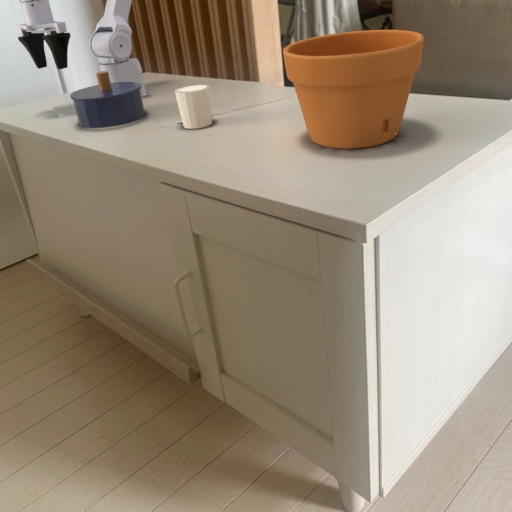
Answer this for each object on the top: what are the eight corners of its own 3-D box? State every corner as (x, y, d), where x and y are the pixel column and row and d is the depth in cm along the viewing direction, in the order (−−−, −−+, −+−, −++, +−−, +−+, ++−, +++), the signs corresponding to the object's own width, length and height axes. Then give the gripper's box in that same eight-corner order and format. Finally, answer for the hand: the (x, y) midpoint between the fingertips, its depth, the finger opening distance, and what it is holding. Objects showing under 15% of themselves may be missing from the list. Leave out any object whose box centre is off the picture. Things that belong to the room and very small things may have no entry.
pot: (133, 108, 123) (128, 81, 120) (153, 119, 112) (148, 90, 109) (74, 121, 118) (66, 93, 115) (89, 134, 107) (81, 104, 104)
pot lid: (130, 83, 121) (125, 62, 119) (151, 93, 109) (147, 69, 107) (64, 96, 115) (58, 74, 113) (80, 108, 104) (74, 83, 102)
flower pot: (345, 167, 77) (342, 59, 70) (265, 138, 93) (256, 47, 86) (447, 132, 86) (455, 33, 79) (358, 111, 102) (358, 27, 95)
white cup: (220, 119, 107) (215, 83, 104) (206, 129, 101) (201, 91, 98) (189, 119, 109) (183, 84, 106) (174, 129, 104) (167, 92, 100)
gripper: (-2, 4, 114) (18, 71, 121) (38, 1, 106) (57, 72, 113) (27, 0, 119) (44, 64, 126) (67, -3, 111) (84, 65, 118)
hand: (52, 68), depth 120 cm, fingers open, 7 cm apart
